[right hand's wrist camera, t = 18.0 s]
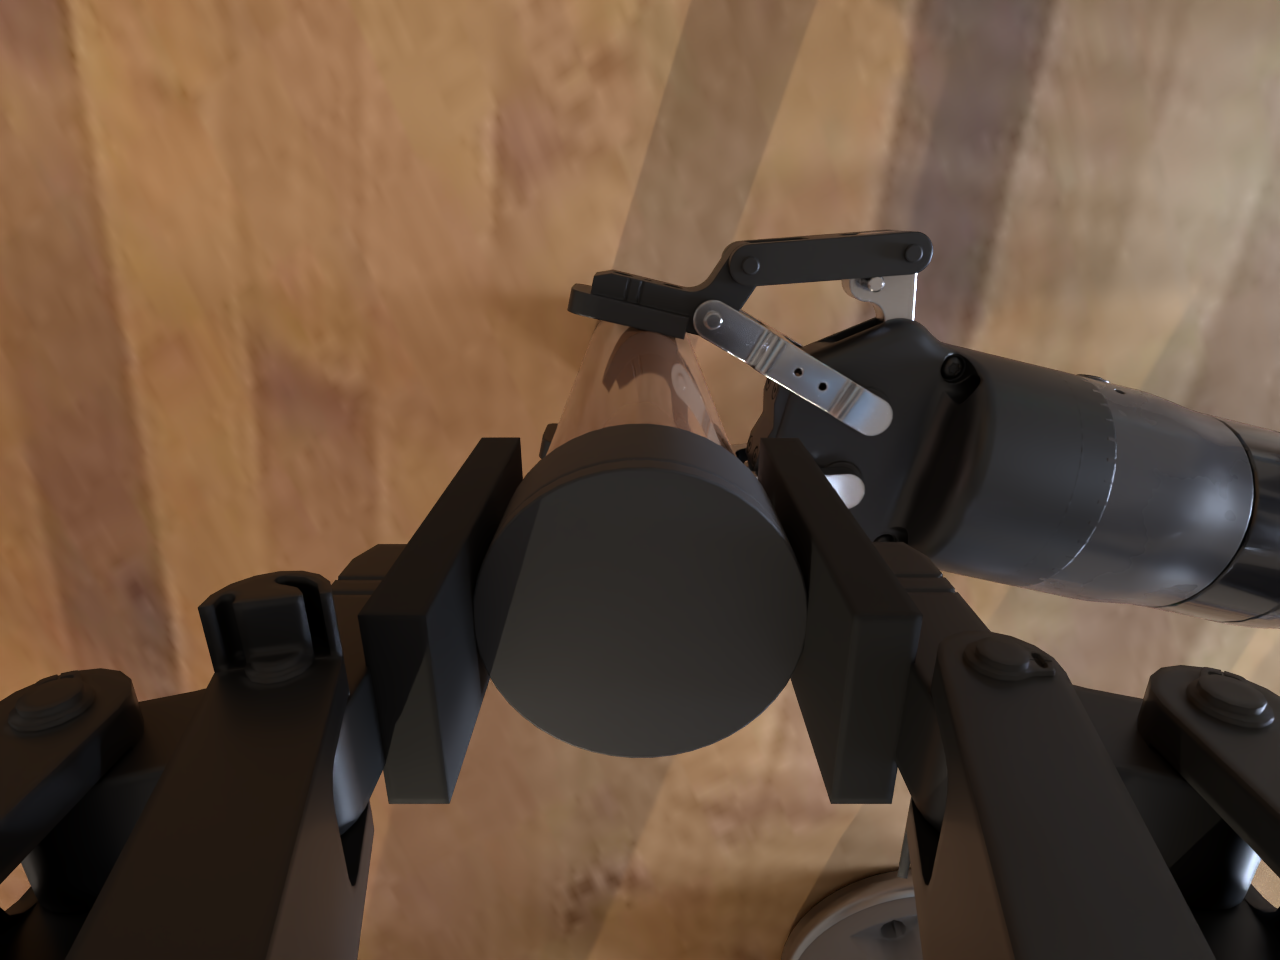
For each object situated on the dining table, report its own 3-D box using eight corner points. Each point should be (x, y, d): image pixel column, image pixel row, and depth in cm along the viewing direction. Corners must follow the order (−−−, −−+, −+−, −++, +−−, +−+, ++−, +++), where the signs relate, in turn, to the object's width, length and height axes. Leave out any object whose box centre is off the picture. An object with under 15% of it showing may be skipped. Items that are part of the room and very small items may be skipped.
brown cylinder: (576, 318, 28) (461, 510, 10) (676, 289, 28) (743, 434, 10) (606, 415, 30) (553, 734, 12) (701, 388, 30) (803, 676, 11)
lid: (838, 518, 12) (879, 583, 10) (677, 714, 13) (684, 804, 11) (594, 364, 11) (584, 398, 9) (450, 592, 12) (412, 667, 10)
